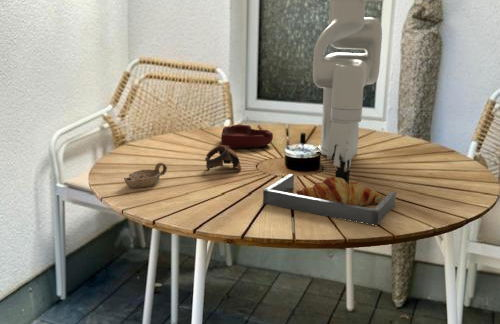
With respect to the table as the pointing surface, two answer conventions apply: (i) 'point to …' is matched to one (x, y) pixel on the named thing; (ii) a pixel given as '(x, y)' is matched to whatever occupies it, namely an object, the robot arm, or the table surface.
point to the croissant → (342, 192)
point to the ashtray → (245, 137)
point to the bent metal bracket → (324, 203)
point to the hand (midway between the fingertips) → (341, 184)
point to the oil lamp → (145, 177)
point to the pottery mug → (222, 157)
